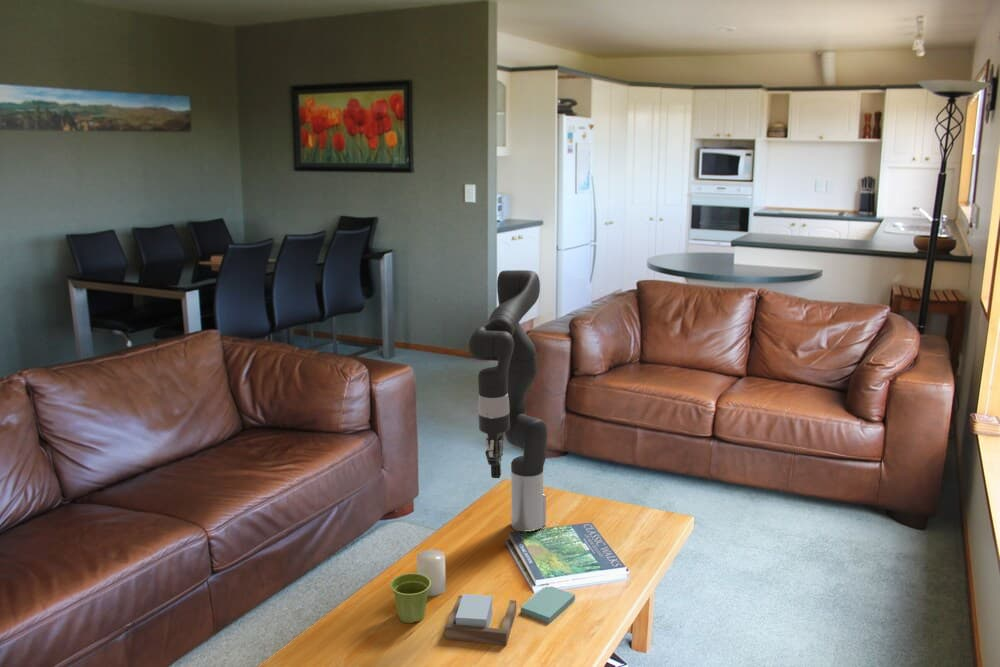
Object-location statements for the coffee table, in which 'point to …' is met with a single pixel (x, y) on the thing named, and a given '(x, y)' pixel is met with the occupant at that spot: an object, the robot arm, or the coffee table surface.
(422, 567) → the white capsule shape
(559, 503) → the coffee table surface
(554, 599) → the green flat block
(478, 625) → the carton
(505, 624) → the display bay
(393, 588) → the plant pot
